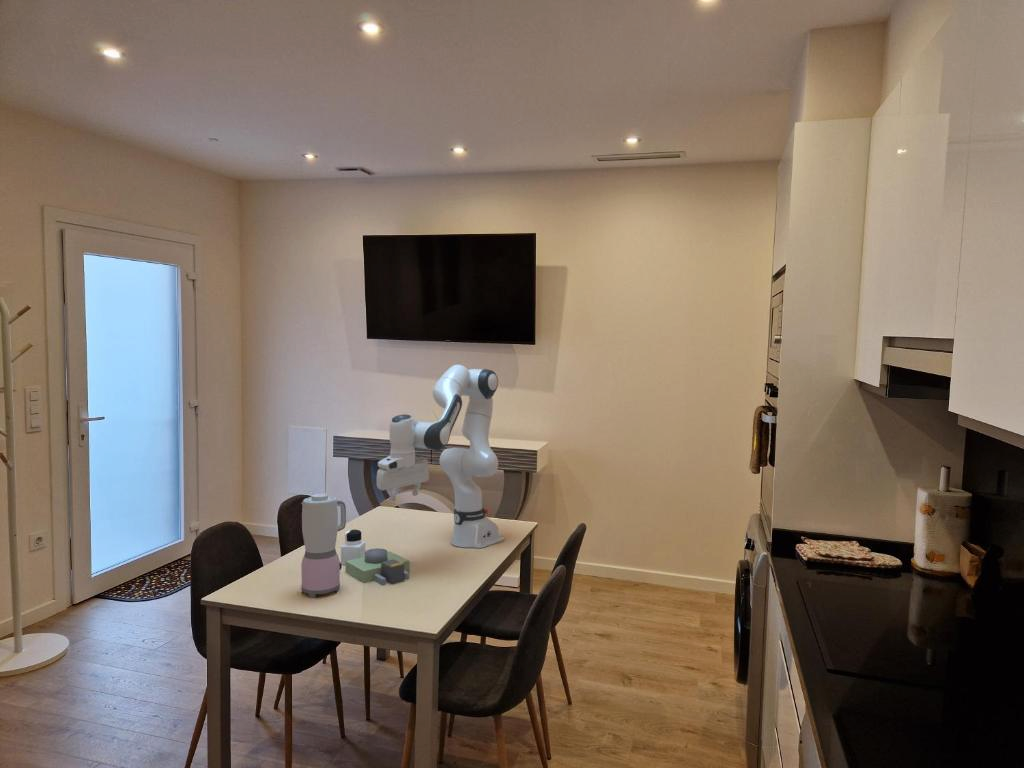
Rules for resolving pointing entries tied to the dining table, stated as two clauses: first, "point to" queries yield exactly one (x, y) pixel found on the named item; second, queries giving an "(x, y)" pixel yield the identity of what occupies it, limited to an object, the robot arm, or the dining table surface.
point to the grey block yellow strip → (392, 571)
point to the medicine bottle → (352, 546)
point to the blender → (321, 544)
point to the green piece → (373, 565)
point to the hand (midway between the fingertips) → (404, 497)
